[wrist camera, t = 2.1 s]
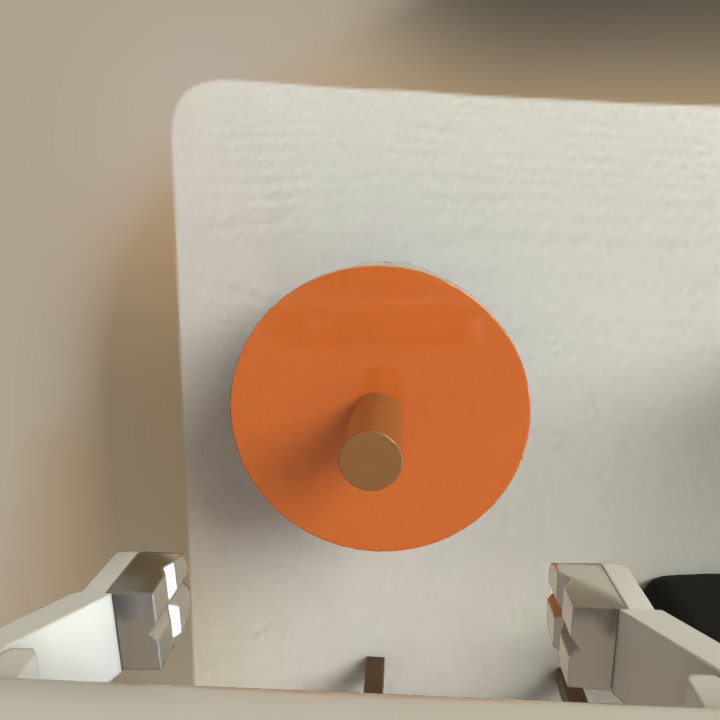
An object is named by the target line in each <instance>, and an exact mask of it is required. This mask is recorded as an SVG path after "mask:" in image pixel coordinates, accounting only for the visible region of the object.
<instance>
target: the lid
mask: <svg viewBox="0 0 720 720" xmlns="http://www.w3.org/2000/svg"><path fill="white" fill-rule="evenodd" d="M230 414H231V422H232V430H233V434H234V438H235V442H236V446H237V449H238V452H239V454H240V457H241V459H242V462H243V464H244V467H245V468H246V470H247V472H248V474H249V476H250V477H251V479H252V481H253V482H254V484H255V485H256V486H257V488H258V489H259V491H260V492H261V493H262V495H263V496H264V497H265V498H266V499H267V500H268V501H269V502H270V503H271V505H272V506H273V507H274V508H275V509H276V510H277V511H279V512H280V513H281V514H282V515H283V516H285V517H286V518H287V519H288V520H290V521H291V522H292V523H294V524H295V525H297V526H299V527H300V528H302V529H303V530H305V531H306V532H309V533H311V534H313V535H315V536H317V537H319V538H321V539H323V540H326V541H329V542H332V543H334V544H337V545H340V546H345V547H349V548H354V549H359V550H368V551H399V550H406V549H414V548H417V547H421V546H425V545H429V544H432V543H435V542H437V541H440V540H443V539H445V538H448V537H450V536H452V535H453V534H455V533H457V532H459V531H461V530H463V529H464V528H466V527H467V526H469V525H470V524H471V523H473V522H474V521H476V520H477V519H478V518H480V517H481V516H482V515H483V514H484V513H485V512H486V511H487V510H488V509H489V508H490V507H492V506H493V505H494V503H495V502H496V501H497V500H498V498H499V497H500V496H501V495H502V494H503V492H504V491H505V490H506V488H507V487H508V485H509V483H510V482H511V480H512V479H513V477H514V475H515V473H516V471H517V469H518V467H519V464H520V462H521V460H522V458H523V454H524V451H525V447H526V444H527V440H528V434H529V427H530V395H529V388H528V382H527V378H526V375H525V371H524V368H523V364H522V362H521V360H520V357H519V355H518V353H517V351H516V348H515V346H514V344H513V343H512V341H511V340H510V338H509V336H508V335H507V333H506V331H505V330H504V328H503V327H502V326H501V325H500V324H499V322H498V321H497V320H496V319H495V318H494V316H493V315H492V314H491V313H490V312H489V311H488V310H487V309H486V308H485V307H484V306H483V305H482V304H481V303H479V302H478V301H477V300H476V299H475V298H474V297H472V296H471V295H470V294H468V293H467V292H465V291H464V290H462V289H461V288H459V287H458V286H456V285H454V284H452V283H450V282H448V281H446V280H444V279H442V278H440V277H438V276H435V275H432V274H430V273H427V272H424V271H421V270H417V269H412V268H407V267H402V266H394V265H380V264H378V265H361V266H354V267H349V268H344V269H339V270H336V271H333V272H330V273H327V274H324V275H321V276H319V277H317V278H315V279H313V280H311V281H309V282H307V283H305V284H303V285H301V286H299V287H298V288H296V289H295V290H293V291H292V292H290V293H289V294H288V295H286V296H285V297H283V298H282V299H281V300H280V301H279V302H278V303H277V304H275V305H274V306H273V307H272V308H271V309H270V310H269V311H268V312H267V313H266V314H265V316H264V317H263V318H262V319H261V320H260V322H259V323H258V324H257V325H256V327H255V328H254V330H253V332H252V333H251V335H250V336H249V338H248V339H247V341H246V343H245V345H244V348H243V350H242V352H241V354H240V357H239V359H238V362H237V366H236V369H235V373H234V376H233V382H232V389H231V406H230Z"/></svg>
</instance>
